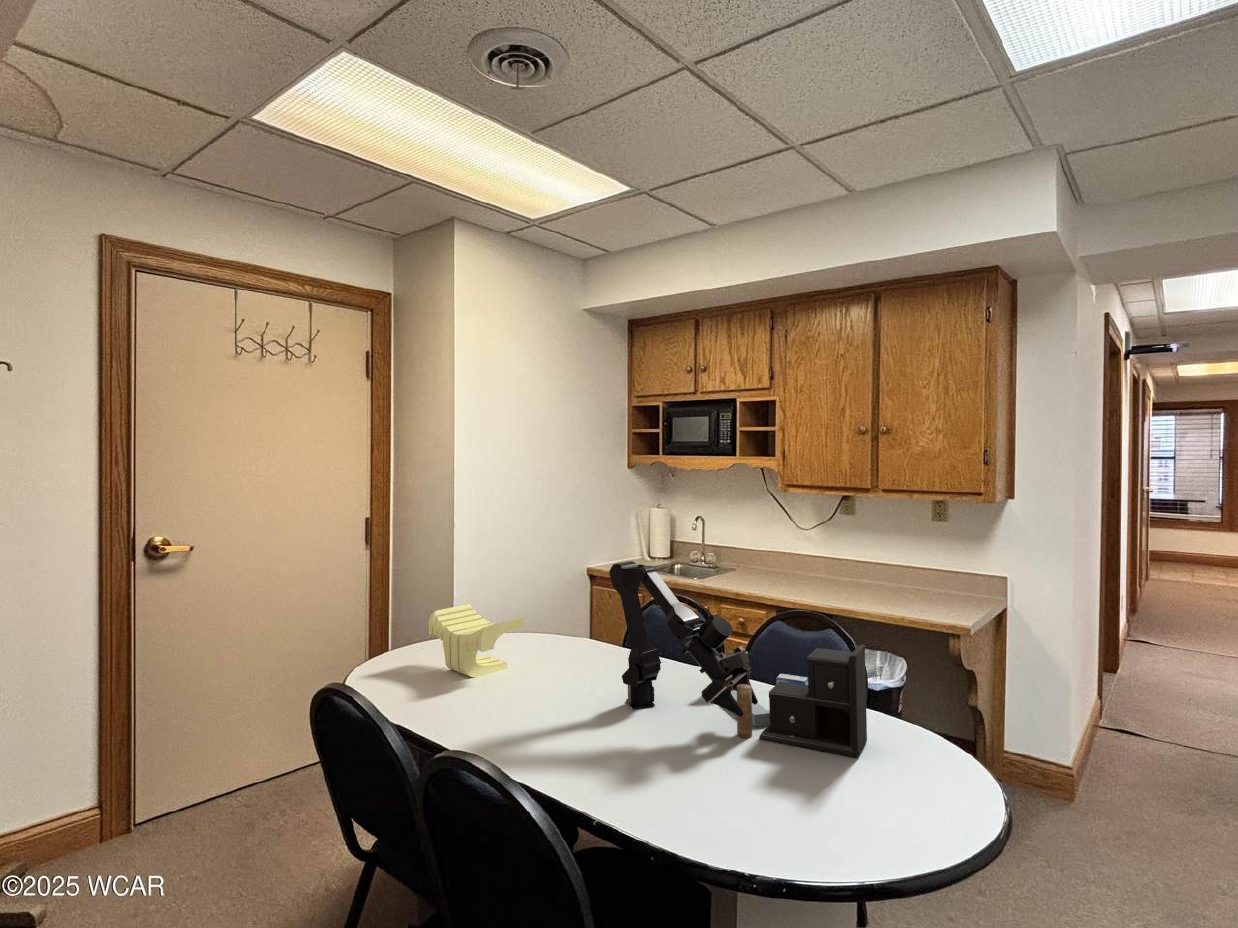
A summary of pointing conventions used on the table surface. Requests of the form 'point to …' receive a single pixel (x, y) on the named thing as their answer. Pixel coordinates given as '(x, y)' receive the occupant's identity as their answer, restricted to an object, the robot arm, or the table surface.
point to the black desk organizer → (823, 705)
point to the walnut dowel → (744, 711)
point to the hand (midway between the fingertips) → (749, 709)
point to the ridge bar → (757, 713)
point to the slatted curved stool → (469, 639)
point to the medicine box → (792, 679)
